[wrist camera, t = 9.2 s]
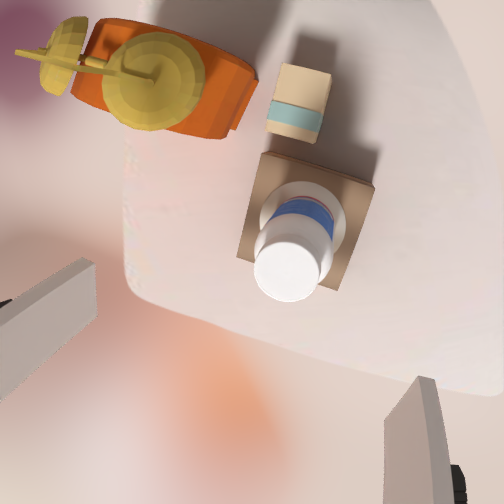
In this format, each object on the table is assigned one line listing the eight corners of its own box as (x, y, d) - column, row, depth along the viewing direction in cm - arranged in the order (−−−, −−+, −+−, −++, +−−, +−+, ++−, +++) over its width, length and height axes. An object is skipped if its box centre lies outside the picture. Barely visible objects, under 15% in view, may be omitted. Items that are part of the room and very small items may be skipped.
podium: (269, 151, 29) (261, 153, 26) (371, 183, 28) (375, 188, 25) (245, 246, 33) (236, 257, 30) (338, 277, 32) (337, 291, 29)
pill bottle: (269, 197, 28) (234, 230, 19) (331, 191, 26) (327, 222, 17) (278, 257, 29) (250, 312, 21) (337, 252, 28) (334, 309, 19)
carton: (289, 71, 26) (281, 62, 22) (332, 82, 25) (331, 74, 22) (273, 130, 28) (263, 130, 25) (316, 142, 28) (312, 144, 24)
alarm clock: (276, 82, 27) (169, 9, 9) (249, 139, 29) (111, 158, 11) (163, 42, 27) (7, -2, 9) (141, 93, 30) (-22, 90, 12)
